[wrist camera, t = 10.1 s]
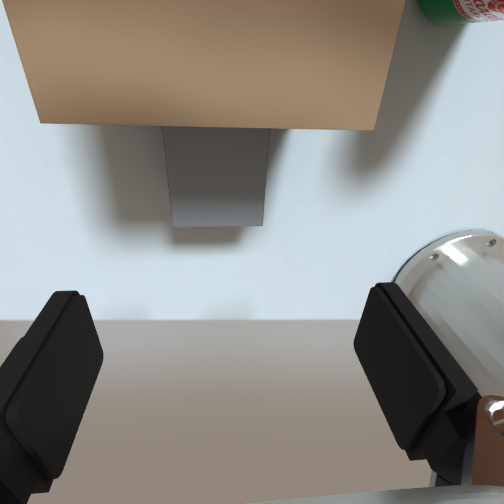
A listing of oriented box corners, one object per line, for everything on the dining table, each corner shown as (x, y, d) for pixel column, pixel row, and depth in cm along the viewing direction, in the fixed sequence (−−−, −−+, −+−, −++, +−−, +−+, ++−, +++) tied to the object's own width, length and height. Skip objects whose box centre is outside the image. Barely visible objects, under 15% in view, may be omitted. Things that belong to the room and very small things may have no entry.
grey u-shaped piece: (254, 196, 25) (262, 226, 21) (179, 196, 25) (173, 227, 21) (265, -33, 18) (282, -57, 14) (157, -41, 17) (140, -70, 13)
